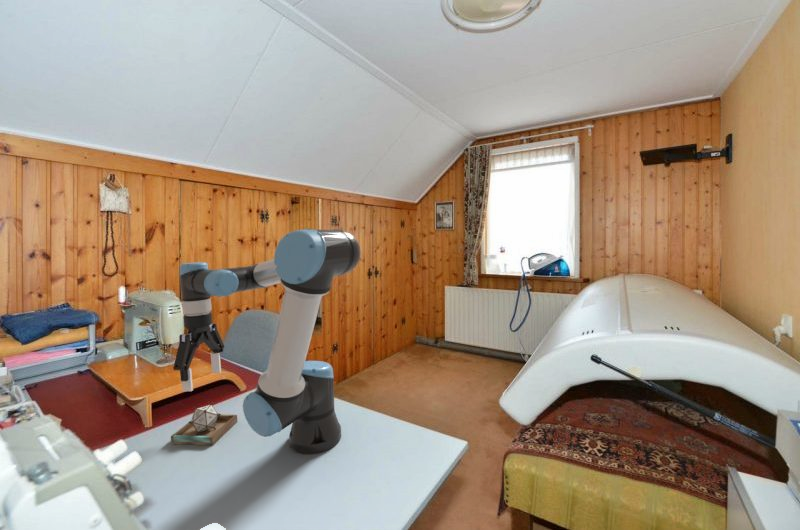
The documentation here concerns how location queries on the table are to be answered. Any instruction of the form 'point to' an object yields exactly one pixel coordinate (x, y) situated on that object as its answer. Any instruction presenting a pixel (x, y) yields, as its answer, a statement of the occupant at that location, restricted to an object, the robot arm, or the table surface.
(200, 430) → the game die
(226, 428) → the brown wooden tray
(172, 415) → the table surface
